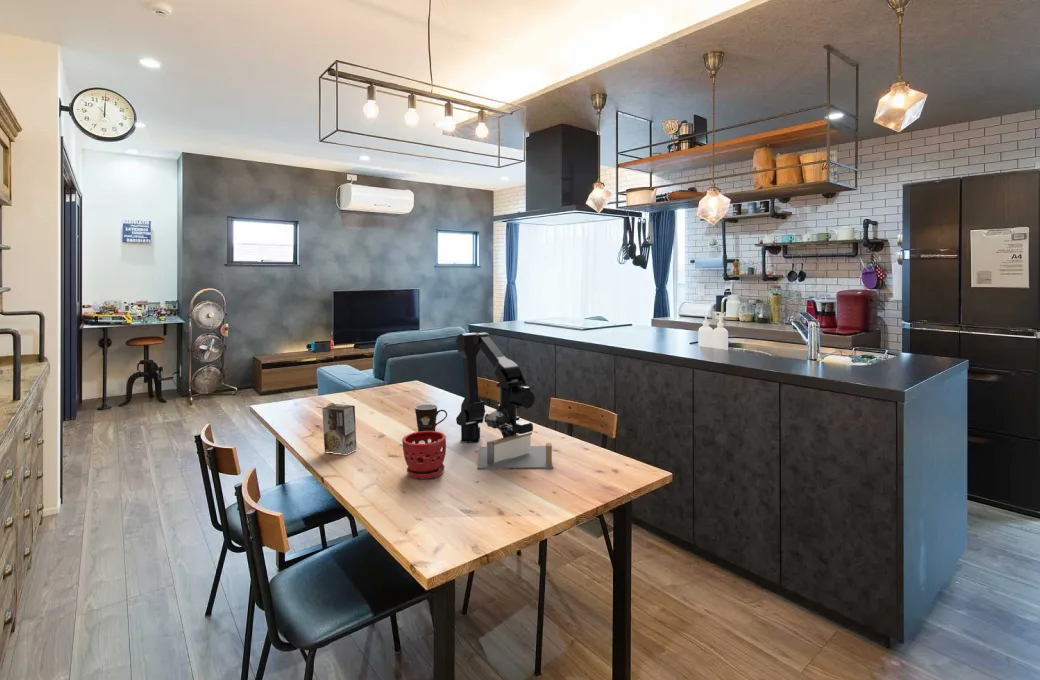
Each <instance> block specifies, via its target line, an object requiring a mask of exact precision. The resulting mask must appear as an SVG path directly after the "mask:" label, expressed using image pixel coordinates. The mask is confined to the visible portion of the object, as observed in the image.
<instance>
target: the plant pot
mask: <svg viewBox="0 0 1040 680" xmlns="http://www.w3.org/2000/svg"><path fill="white" fill-rule="evenodd" d="M446 438H447V437H446V435H445V434H444V433H443V432H441V431H436V430H435V431H420V432H418V431H415V432H411V433H409V434H407V435H405V436H403V437H402V451H403V458H404V461H405V463H406V465H407V468H406V473H407V474H408V475H409V476H410V477H412V478H414V477H415V478H414V479H419V478H421V479H422V480H424V479H426V478H427V479H431V478H433V477H434V478H436V477H439V476H440V475H441V474H443V473H444V472H445V468H446V466H445V464H444V461H445V458H446V453H447V441H446V440H447V439H446ZM428 440H430V441H428ZM422 441H423V442H424V443H420V442H422Z"/></svg>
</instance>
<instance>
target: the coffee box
mask: <svg viewBox="0 0 1040 680" xmlns="http://www.w3.org/2000/svg"><path fill="white" fill-rule="evenodd" d="M355 408H356V407H355V405H353V404H352V405H351V404H339V403H332V404H330V405H327V406H324V407H322V409H321V411H322V427H323V442H324V443H323V445H324V446H323V447H324V453H325V452H333V453H341V454H348V453H350V452H352V451H354V450H356V449H357V431H356V428H357V427H356V409H355Z"/></svg>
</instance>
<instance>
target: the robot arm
mask: <svg viewBox="0 0 1040 680" xmlns="http://www.w3.org/2000/svg"><path fill="white" fill-rule="evenodd" d="M455 340H456V349H457V352H458V353H459V355H460V356H461V358H462V369H463V384H464V399H463V400H462V402H461V405H460V406H461V407H460V412H459V414H458V415H457V416H456V418H455V421H456V424H457V425H459V426H460V431H461V432H460V443H478V442H479V440H480V439H481V426H479V424H483V423H486V424H487V427H489V428H492V429H495V430H496V429H498V430H499V432H500V433H501V435H502V438H504V437H508V436H512V435H516V434H524V433H527V432H534V425H533V423H532V422H530V421H526V420H520V416H517V415H518V409H520V408H524V409H530V408H531V407H533V405H534V403H535V402H536V396H535V394H534V392H532V391H531V387H530V386H527V382H526V378H525V377H524V375H523V373H522V371H521V368H520V367H519V365H518V364H517V363H516V362H514V361H513V360H511V359H510V358H507V357H506V356H505V355H504V354H503V352H502V351H501V350H500V349H499V347H498V346H497V345H496V344H495V342H494V340H492V339H491V336H490V334H489V333H488V332H468V333H460V334H459V335H458V336H457V337H456V339H455ZM480 351H482V354H483V355H484V356H485V357H486V358H487V360H488V361H489V362H490V363H491V365H492V366H493V368H494V370H493V371H494V372H493V373H494V375H495V377H496V379H497V380H498V383H496V385H495V387H497V388H499V404H497V406H496V409H495V410H494V411H492V412H489V413H486V407H485V406H486V405H485V404H486V403H485V401H483V400H482V399H481V398H480V397H479V383H478V382H479V381H478V378H479V377H478V364H477V357H478V355H479V353H480ZM485 413H486V414H485Z"/></svg>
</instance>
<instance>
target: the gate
mask: <svg viewBox="0 0 1040 680" xmlns="http://www.w3.org/2000/svg"><path fill="white" fill-rule="evenodd" d="M531 435H533V431H531V432H527V433H524V434H518V433H516V435H512V436H508V437H504V438H503V437H501V438H498V439H493V440H489V441H487V442H486V447H487V464H493V462H497V461H500V460H504V459H507V458H510V457H514V456H517V455H520V454H524V453H527V452H530V451H531V446H532V444H531Z"/></svg>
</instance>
